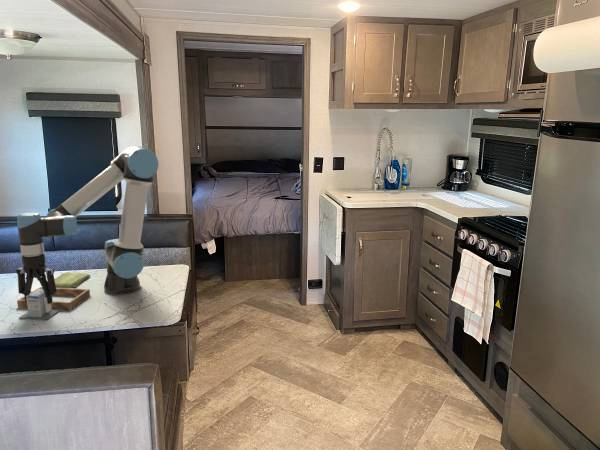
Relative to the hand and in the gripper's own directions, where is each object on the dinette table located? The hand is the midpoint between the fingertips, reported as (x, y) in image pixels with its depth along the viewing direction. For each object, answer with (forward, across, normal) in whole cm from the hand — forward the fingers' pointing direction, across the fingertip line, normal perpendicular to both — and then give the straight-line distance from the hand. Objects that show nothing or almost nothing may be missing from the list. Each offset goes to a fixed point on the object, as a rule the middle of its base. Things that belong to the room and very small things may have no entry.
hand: (40, 310), depth 173 cm
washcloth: (+2, +9, -35) cm, 36 cm away
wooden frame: (+2, +2, -13) cm, 13 cm away
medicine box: (+1, 0, 0) cm, 1 cm away
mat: (+2, 0, 0) cm, 2 cm away
